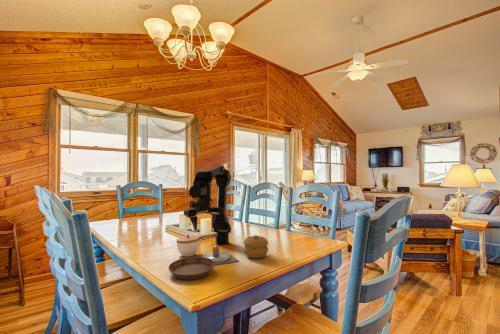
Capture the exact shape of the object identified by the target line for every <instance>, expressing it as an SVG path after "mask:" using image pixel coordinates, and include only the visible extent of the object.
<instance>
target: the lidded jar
mask: <svg viewBox="0 0 500 334" xmlns="http://www.w3.org/2000/svg"><path fill="white" fill-rule="evenodd" d="M199 247H200V236H197V235H189V234H186V236H181V237H177V239H176V248H177V251H178V253H179V254H180V255H181V256H183V257H194V255H196V253H197V251H198V250H199Z"/></svg>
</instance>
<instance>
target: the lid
mask: <svg viewBox="0 0 500 334" xmlns="http://www.w3.org/2000/svg"><path fill="white" fill-rule="evenodd" d="M228 253H229V252H228ZM228 253H224V252H223V251H220V245H218V244H217V245H216V244H214V245H212V251H211V252H207V253H203V254H204V255H202V257H204V258H208V259H211V260H212V261H213V262H214V263H219V262H225V261H227V260H229V259H230V255H229V254H230V253H229V254H228Z"/></svg>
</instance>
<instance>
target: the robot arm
mask: <svg viewBox="0 0 500 334" xmlns="http://www.w3.org/2000/svg"><path fill="white" fill-rule="evenodd" d="M214 180H215V183H216V184H215V185H216V186H217V188H218V191H217V192H218V197H217V205H216V206H211V205H212V204H211V202H213V198H212V190H211V189H212V186H213V184H212V182H213V181H214ZM231 181H232V175H231V172H230V171H229V170H228V169H227V168H225V166H224V165H222V164H220V165H218V164H217V165H214V166H213V167H210V168H208V169H198V170H197V171H196V174H195V176H194V180H193V182H192V184H193V185H192V186H190V187H189V190H188V193H189V196H190V197H191V198H193V199H196V201H195V200H190V201H189V208H185V209H184V210H183V216H184V217H186V218H188V219H189V220H190V222H191V225H192V227H193V230H194V231H195V232H196V231H197V230H198V216H197V215H200V214H208V213H210V214H211V229H213V233H216V234H215V240H214V241H215V243H216V244H217V245H219V246H222V245H228V244H231V242H229V241H230V240H229V239H230V238H229V236H230V235H229V234H230V233H231V232H232V226H231V224H230V220H229V217H228V215H227V201H228V200H227V197H228V188H229V186H230V184H231Z"/></svg>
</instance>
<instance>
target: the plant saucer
mask: <svg viewBox="0 0 500 334" xmlns="http://www.w3.org/2000/svg"><path fill="white" fill-rule="evenodd" d="M214 265H215V264H214V262H213V261H212V260H211V259H208V258H204V257H195V256H188V257H184V258H180V259H177V260H175V261H173V262H171V263H170V264H169V265H168V271H169V272H170V273H171V274H172V276H174V277H175V278H176V279H180V280H189V281H190V280H197V279H200V278H201V279H202V278H203V277H206V276H207V275H209V274H210V273H211V272H212V270H213V269H214V267H215V266H216V265H215V266H214Z"/></svg>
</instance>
